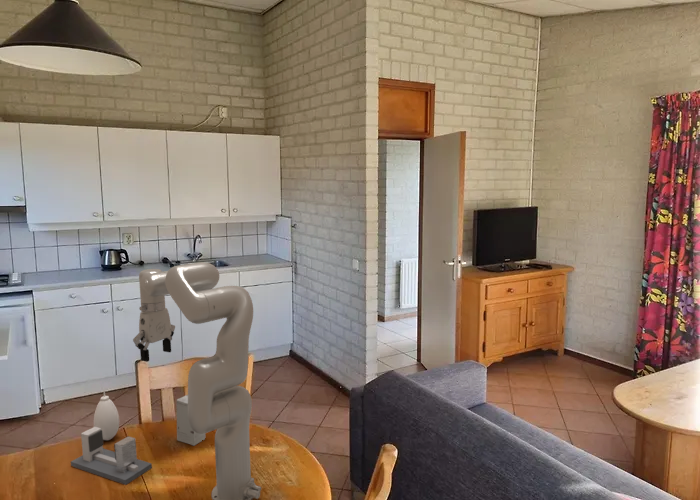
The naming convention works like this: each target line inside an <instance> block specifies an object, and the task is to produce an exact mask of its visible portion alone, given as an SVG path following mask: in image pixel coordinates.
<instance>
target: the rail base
mask: <svg viewBox="0 0 700 500" xmlns="http://www.w3.org/2000/svg"><path fill="white" fill-rule="evenodd" d="M80 435H81V436H80V437H81V438H80V439H81V447H82V449H81V450H82V455H80V456H79V457H77V458H75V459H73V460H71V461H70V466H71V467H72V466H73V468H76V469H77V470H78V469H79V470H82V471H85V472H88V473H91V474H93V475H96V476H98V477H102V478H105V479H108V480H111V481H114V482H116V483H120V484H122V485H125V486H126V485H128V484H130V483H132V482H133V481H134V480H136V479H138V478H139V477H140V476H141V475H144V474H145V473H146V472H148V471H149V470H151V469H152V468H153V466H152V465H153V463H151V462H148V461H146V460H142V459H138V458H137V465H134V464H131V463H130V464H129V465H127V466H126V469H127V472H125V473H122V472H119V471H117V465H116V460H115V451H113V450H110V449H106V448H104V447H103V446H104V440H103V434H102V430H101V428H98V427H94V426H93V427H91V428H89V429H86V430H85V431H83V432H81V434H80Z"/></svg>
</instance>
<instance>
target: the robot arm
mask: <svg viewBox="0 0 700 500" xmlns="http://www.w3.org/2000/svg"><path fill="white" fill-rule="evenodd" d="M138 279H139V281H138V283H139V293H140V306H139V311H141V312H140V313H139V322H138V323H139V325H138V326H139V327H138V334H137V335H135V336H134V338H133V339H132V342H133V343H134V345H135V347H137V349H138V350H139V351H140V354H139V355H140V361H142V362H146V363H147V362H149V361H150V352H149V351H150V350H149V349H148V348H149V345H150V344H155V343H156V342H159V341H162V351H163V352H166V353H171V352H172V341H173V336H174V334H175V329H176V325H174V324H171V323H172V322H171V317H170V314H169V310H168V308H167V307H166V296H167V295H169V296H170V297H171V298H172V300H173V301H174V303H175V305H176V306H177V307H178V308H179V310H180V311H181V313H182V314H183V315H184V317H185V318H186V319H187V321H189V322H190V323H192V324H196V325H199V324H205V323H209V322H213V321H218V320H222V319H226V320H225V322H224V323H223V325H222V326H221V328H220V330H219V331H218V334H217V338H216V350H215V354H213V355H212V356H209V357H208V356H207V357H205V358H203V359H199V360H197V361H196V362H194V363H193V364H192V366H191V367H190V369H189V372H188V375H187V376H188V377H187V378H188V379H187V380H188V381H187V395H188V419H189V423H190V426H191V428H192V429H193V430H194V431H195V432H196V433H199V434H203V433H205V434H207V433H210V432H212V431H215V434H214V453H215V455H214V456H215V473H216V474H215V476H216V485H215V486H214V487H213V489H212V491H211V499H212V500H253V499H257V500H258V499H259V498H260V496H261V491H262V486H260V485H256V482H255V478H254V477H252V476H251V475H252V474H251V470H252V469H251V453H250V452H251V448H250V447H251V446H250V419H251V414H252V407H253V401H252V396H251V394H250V392H249V390H248V389H247V388H245V387H244V386H240V385H241V384H243V383H244V382H245V381H246V379H247V375H248V368H249V367H248V366H249V342H250V340H249V339H250V334H251V329H252V324H253V319H254V304H253V300H252V298H251V295H250V294H249V292H248V291H247V290H246V289H245V288H244V287H242V286H238V285H226V286H220V287H216V286H217V284H218V283H219V281H220V272H219V269H218V268H217V267H216V266H215V265H214V264H212V263H210V262H205V261H204V262H203V261H202V262H194V263H193V262H192V263H186V264H179V265H175V266H172V267H170V268H169V269H168V270H166V271H163V270H162V269H160V268H148V269H147V268H146V269H143V270H141V271H140V272H139V274H138Z"/></svg>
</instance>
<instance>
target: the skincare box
mask: <svg viewBox="0 0 700 500" xmlns="http://www.w3.org/2000/svg"><path fill="white" fill-rule="evenodd" d="M205 438H206V433H203V434H199V433H196V432H195V431H194V430H193V429H192V428H191V426H190V423H189V419H188V394H186V395H184V396H181V397H180V398H179V397H178V398H177V399H176V440H177V441H178V442H182V443H185V444H188V445H191V446H196V445H197V444H199V443H201V442H203V441H204V440H206V439H205ZM202 440H203V441H202Z"/></svg>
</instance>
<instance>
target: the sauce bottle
mask: <svg viewBox="0 0 700 500" xmlns="http://www.w3.org/2000/svg"><path fill="white" fill-rule="evenodd" d="M119 426H120V415H119V411H118V408H117V406H116V404H114V402H113V400H111V398H110V397H109V395H106V392H105V389H103V396H101V397H100V400H99V401H98V403H97V406H96V408H95V411H94V415H93V427H98V428H101V430H102V434H103V441H110V440H111V439H113V438H114V437H115V436H116V435H117V433H118V430H119Z"/></svg>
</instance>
